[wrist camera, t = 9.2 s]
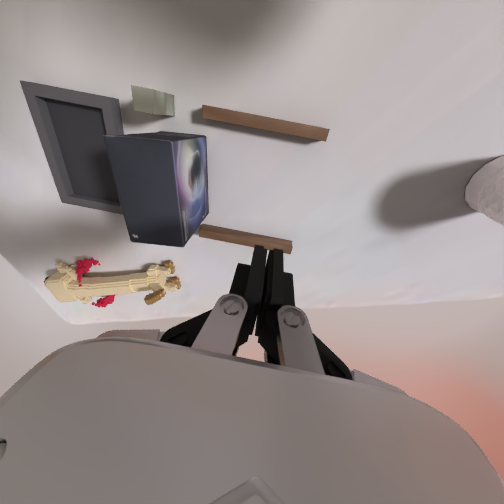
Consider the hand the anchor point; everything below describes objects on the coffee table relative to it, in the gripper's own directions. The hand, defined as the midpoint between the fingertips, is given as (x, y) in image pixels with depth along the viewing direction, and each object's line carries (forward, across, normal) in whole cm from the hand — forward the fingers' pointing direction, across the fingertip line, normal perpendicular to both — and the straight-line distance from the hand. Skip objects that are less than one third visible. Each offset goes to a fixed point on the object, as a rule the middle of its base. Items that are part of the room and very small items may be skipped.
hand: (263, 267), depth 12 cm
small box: (+19, +12, +1) cm, 22 cm away
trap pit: (+18, +25, +1) cm, 31 cm away
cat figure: (+18, +26, +22) cm, 39 cm away
